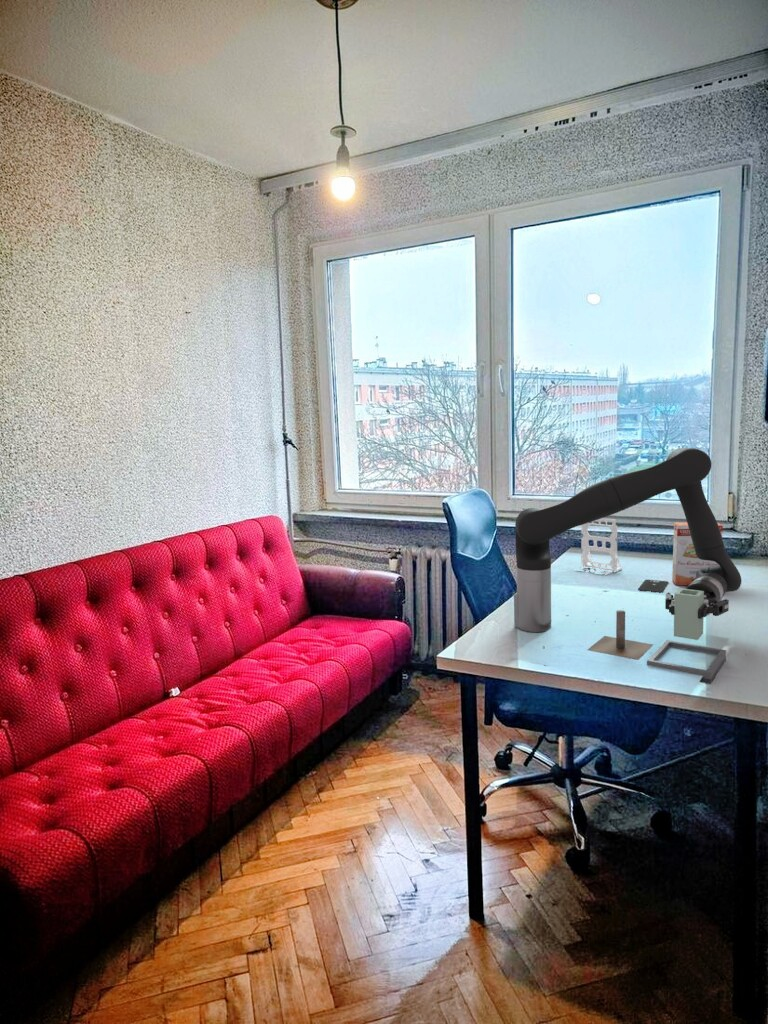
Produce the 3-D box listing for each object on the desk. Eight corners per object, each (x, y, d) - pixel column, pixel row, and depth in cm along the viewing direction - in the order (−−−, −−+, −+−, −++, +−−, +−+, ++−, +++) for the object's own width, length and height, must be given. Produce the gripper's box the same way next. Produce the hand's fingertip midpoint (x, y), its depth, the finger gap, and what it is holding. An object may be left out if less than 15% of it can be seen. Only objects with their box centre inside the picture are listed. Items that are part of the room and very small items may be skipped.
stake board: (587, 655, 151) (587, 613, 150) (604, 641, 160) (604, 601, 159) (638, 666, 144) (638, 622, 142) (653, 650, 153) (654, 608, 152)
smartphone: (668, 583, 215) (668, 581, 215) (662, 594, 202) (662, 591, 202) (645, 581, 219) (645, 579, 219) (637, 591, 206) (637, 589, 206)
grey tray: (646, 671, 141) (647, 660, 140) (666, 649, 153) (666, 640, 153) (710, 684, 132) (710, 672, 132) (725, 660, 145) (726, 650, 144)
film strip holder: (571, 570, 237) (571, 519, 234) (589, 564, 246) (590, 514, 243) (606, 576, 226) (606, 522, 224) (624, 569, 235) (625, 517, 233)
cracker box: (675, 585, 210) (676, 524, 207) (671, 581, 216) (673, 521, 213) (721, 586, 207) (723, 524, 204) (716, 582, 212) (718, 521, 210)
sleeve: (673, 636, 141) (674, 593, 140) (679, 629, 145) (680, 588, 144) (697, 640, 138) (698, 596, 137) (703, 633, 142) (703, 591, 141)
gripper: (672, 576, 156) (652, 592, 143) (737, 582, 147) (722, 600, 134) (672, 605, 157) (652, 623, 144) (736, 613, 148) (721, 634, 135)
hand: (686, 612), depth 139 cm, fingers closed on sleeve, 5 cm apart
